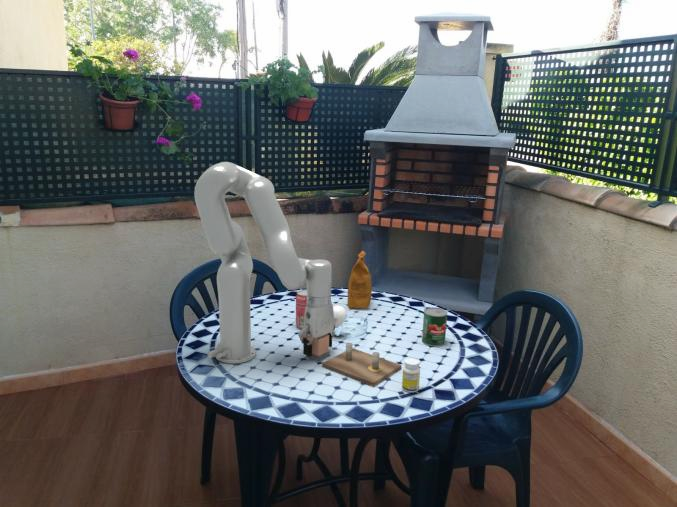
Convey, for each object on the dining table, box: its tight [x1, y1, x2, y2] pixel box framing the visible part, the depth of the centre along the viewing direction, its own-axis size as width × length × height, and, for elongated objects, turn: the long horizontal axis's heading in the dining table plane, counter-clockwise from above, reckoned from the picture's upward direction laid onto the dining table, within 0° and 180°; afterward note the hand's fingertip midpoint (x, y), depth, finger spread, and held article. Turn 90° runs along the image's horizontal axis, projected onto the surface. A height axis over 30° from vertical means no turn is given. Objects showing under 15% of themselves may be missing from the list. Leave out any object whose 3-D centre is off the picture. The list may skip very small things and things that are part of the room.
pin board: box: [321, 342, 402, 387], centre depth 158 cm, size 15×19×6 cm
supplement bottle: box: [401, 357, 421, 393], centre depth 146 cm, size 5×5×8 cm
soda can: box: [295, 289, 307, 330], centre depth 189 cm, size 7×7×13 cm
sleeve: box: [306, 334, 330, 362], centre depth 165 cm, size 5×5×7 cm
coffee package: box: [347, 250, 373, 310], centre depth 211 cm, size 10×12×22 cm
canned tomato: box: [421, 307, 448, 347], centre depth 178 cm, size 8×8×11 cm
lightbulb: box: [333, 304, 348, 336], centre depth 181 cm, size 6×6×11 cm
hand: (317, 350), depth 166 cm, fingers open, 9 cm apart
